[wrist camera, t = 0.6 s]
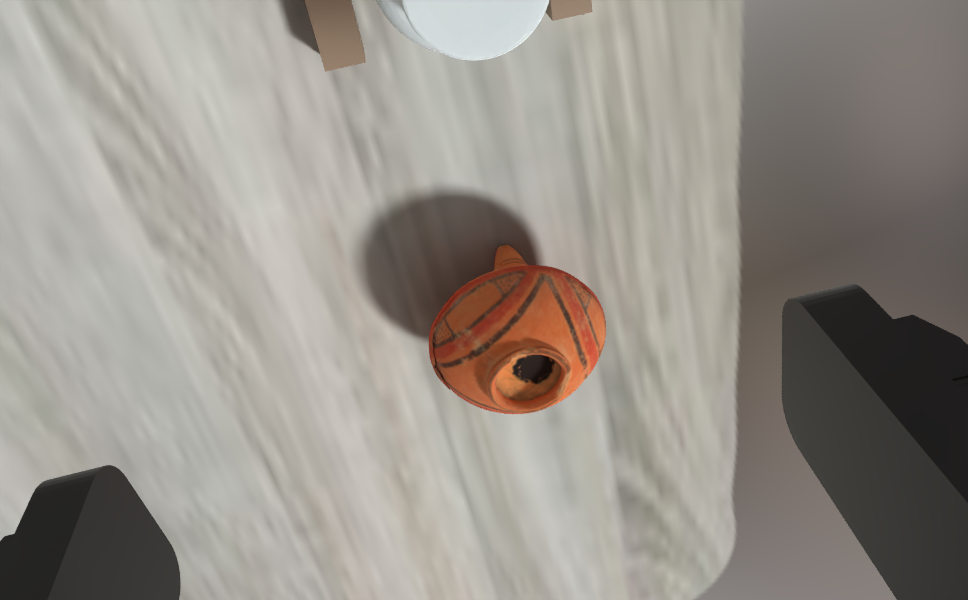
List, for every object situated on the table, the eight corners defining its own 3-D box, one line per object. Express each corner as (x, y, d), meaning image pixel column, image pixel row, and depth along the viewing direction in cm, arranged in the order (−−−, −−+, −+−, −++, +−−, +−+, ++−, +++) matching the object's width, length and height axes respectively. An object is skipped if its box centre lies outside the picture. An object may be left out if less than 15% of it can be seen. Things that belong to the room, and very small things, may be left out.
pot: (621, 241, 37) (657, 358, 32) (542, 342, 42) (564, 455, 37) (463, 197, 34) (479, 319, 29) (399, 312, 39) (404, 430, 34)
